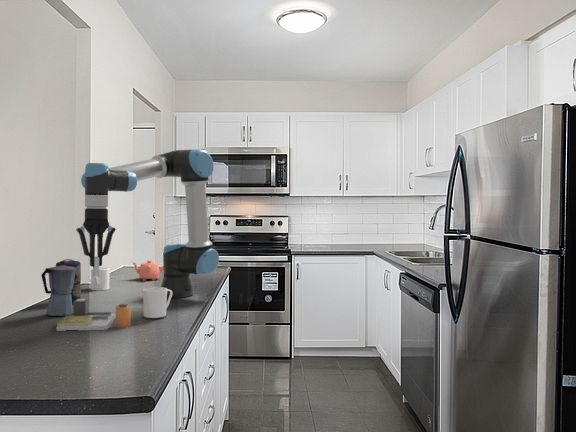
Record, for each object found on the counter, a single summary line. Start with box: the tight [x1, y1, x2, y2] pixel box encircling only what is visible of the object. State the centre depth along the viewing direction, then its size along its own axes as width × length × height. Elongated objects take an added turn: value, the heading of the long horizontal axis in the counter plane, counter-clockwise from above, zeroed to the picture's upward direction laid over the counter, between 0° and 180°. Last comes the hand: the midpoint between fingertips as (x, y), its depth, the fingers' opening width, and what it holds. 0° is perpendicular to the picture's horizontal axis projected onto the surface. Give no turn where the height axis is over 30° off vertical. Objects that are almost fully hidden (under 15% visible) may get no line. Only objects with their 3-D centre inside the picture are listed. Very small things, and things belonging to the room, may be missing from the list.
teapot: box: [130, 260, 163, 282], centre depth 267 cm, size 14×12×10 cm
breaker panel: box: [56, 311, 116, 332], centre depth 177 cm, size 16×17×3 cm
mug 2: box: [142, 286, 172, 320], centre depth 189 cm, size 11×9×10 cm
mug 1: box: [90, 266, 110, 292], centre depth 237 cm, size 8×12×10 cm, turn 7°
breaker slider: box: [72, 298, 89, 316], centre depth 181 cm, size 4×4×6 cm
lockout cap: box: [115, 303, 132, 329], centre depth 175 cm, size 5×5×8 cm
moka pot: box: [41, 260, 76, 317], centre depth 189 cm, size 10×15×20 cm, turn 161°
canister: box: [55, 258, 82, 304], centre depth 209 cm, size 10×10×18 cm
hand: (95, 275), depth 177 cm, fingers closed
